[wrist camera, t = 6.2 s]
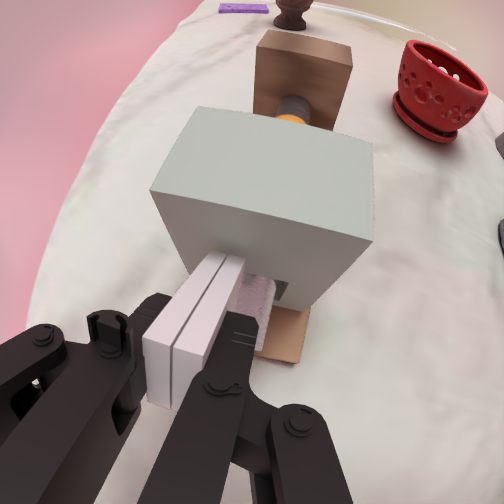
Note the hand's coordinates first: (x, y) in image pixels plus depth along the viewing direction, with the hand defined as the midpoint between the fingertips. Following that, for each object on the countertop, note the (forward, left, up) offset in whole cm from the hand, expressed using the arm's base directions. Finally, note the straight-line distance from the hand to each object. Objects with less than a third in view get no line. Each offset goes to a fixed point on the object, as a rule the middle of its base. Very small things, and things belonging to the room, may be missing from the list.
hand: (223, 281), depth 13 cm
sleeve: (-1, -4, -7) cm, 8 cm away
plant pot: (-20, -34, -9) cm, 40 cm away
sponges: (+18, -72, -10) cm, 74 cm away
